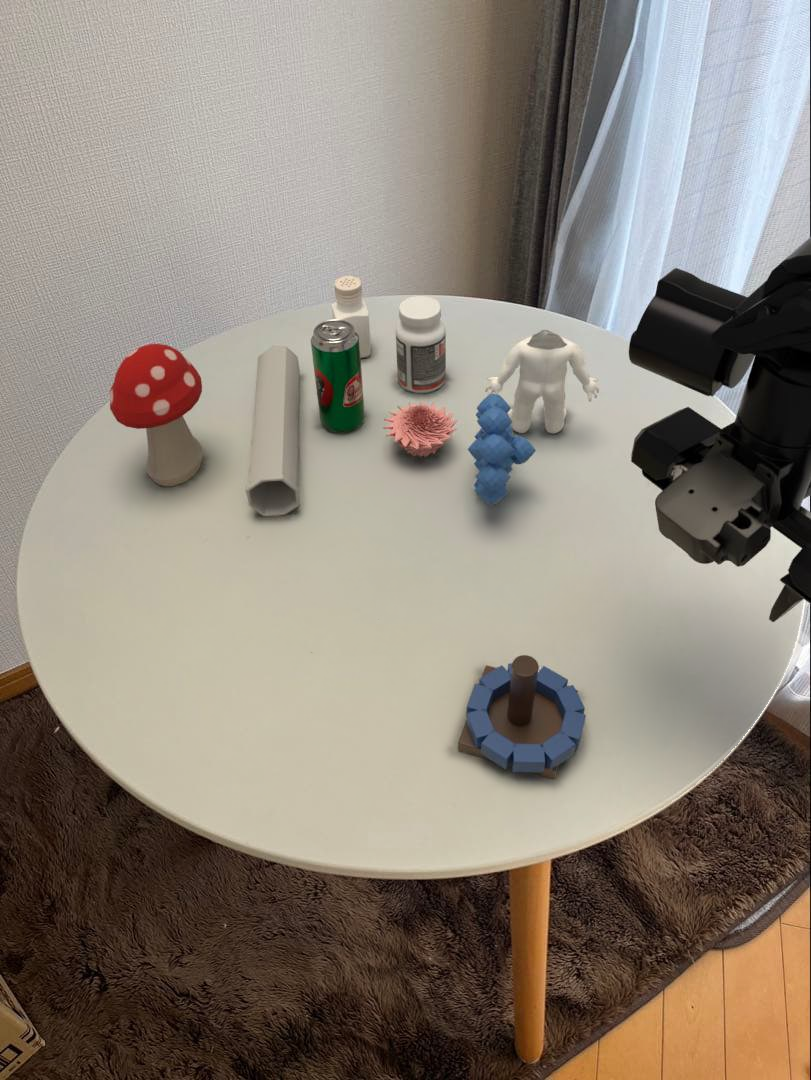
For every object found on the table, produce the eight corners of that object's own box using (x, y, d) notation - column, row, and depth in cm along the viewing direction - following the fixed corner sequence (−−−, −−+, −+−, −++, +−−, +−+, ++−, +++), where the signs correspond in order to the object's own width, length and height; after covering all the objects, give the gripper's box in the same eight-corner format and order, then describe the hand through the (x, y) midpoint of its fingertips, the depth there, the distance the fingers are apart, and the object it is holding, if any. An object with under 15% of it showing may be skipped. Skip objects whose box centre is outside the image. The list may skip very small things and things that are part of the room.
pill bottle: (453, 373, 108) (454, 300, 100) (433, 399, 104) (433, 326, 97) (410, 361, 109) (408, 289, 102) (389, 387, 106) (385, 314, 99)
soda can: (355, 439, 100) (347, 348, 91) (313, 430, 101) (301, 339, 92) (371, 411, 103) (365, 321, 94) (330, 403, 104) (320, 313, 95)
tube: (248, 345, 106) (236, 487, 88) (290, 329, 105) (285, 471, 87) (268, 379, 110) (260, 523, 92) (309, 365, 109) (308, 507, 91)
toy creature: (588, 409, 102) (602, 318, 94) (593, 443, 98) (608, 351, 89) (482, 408, 103) (486, 317, 94) (483, 442, 99) (487, 351, 90)
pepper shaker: (372, 358, 110) (367, 289, 103) (340, 363, 110) (333, 294, 103) (365, 340, 113) (361, 271, 106) (334, 344, 112) (327, 276, 105)
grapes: (534, 535, 89) (544, 442, 80) (465, 533, 89) (468, 440, 81) (529, 457, 97) (538, 365, 88) (466, 456, 97) (469, 364, 89)
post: (576, 698, 76) (588, 639, 70) (554, 779, 71) (565, 723, 65) (485, 672, 78) (489, 613, 72) (457, 750, 73) (459, 693, 67)
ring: (592, 690, 75) (595, 679, 74) (567, 788, 69) (569, 778, 68) (486, 661, 77) (487, 650, 76) (452, 753, 71) (453, 743, 70)
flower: (448, 479, 95) (449, 438, 91) (375, 468, 96) (373, 428, 92) (463, 431, 100) (464, 391, 96) (393, 422, 101) (391, 382, 97)
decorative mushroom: (173, 430, 102) (142, 315, 91) (236, 452, 99) (211, 336, 88) (116, 484, 96) (75, 368, 85) (181, 509, 93) (147, 392, 82)
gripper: (589, 392, 60) (565, 552, 71) (823, 562, 49) (750, 718, 60) (707, 336, 64) (666, 495, 75) (946, 481, 53) (856, 641, 64)
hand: (726, 579), depth 69 cm, fingers open, 9 cm apart
